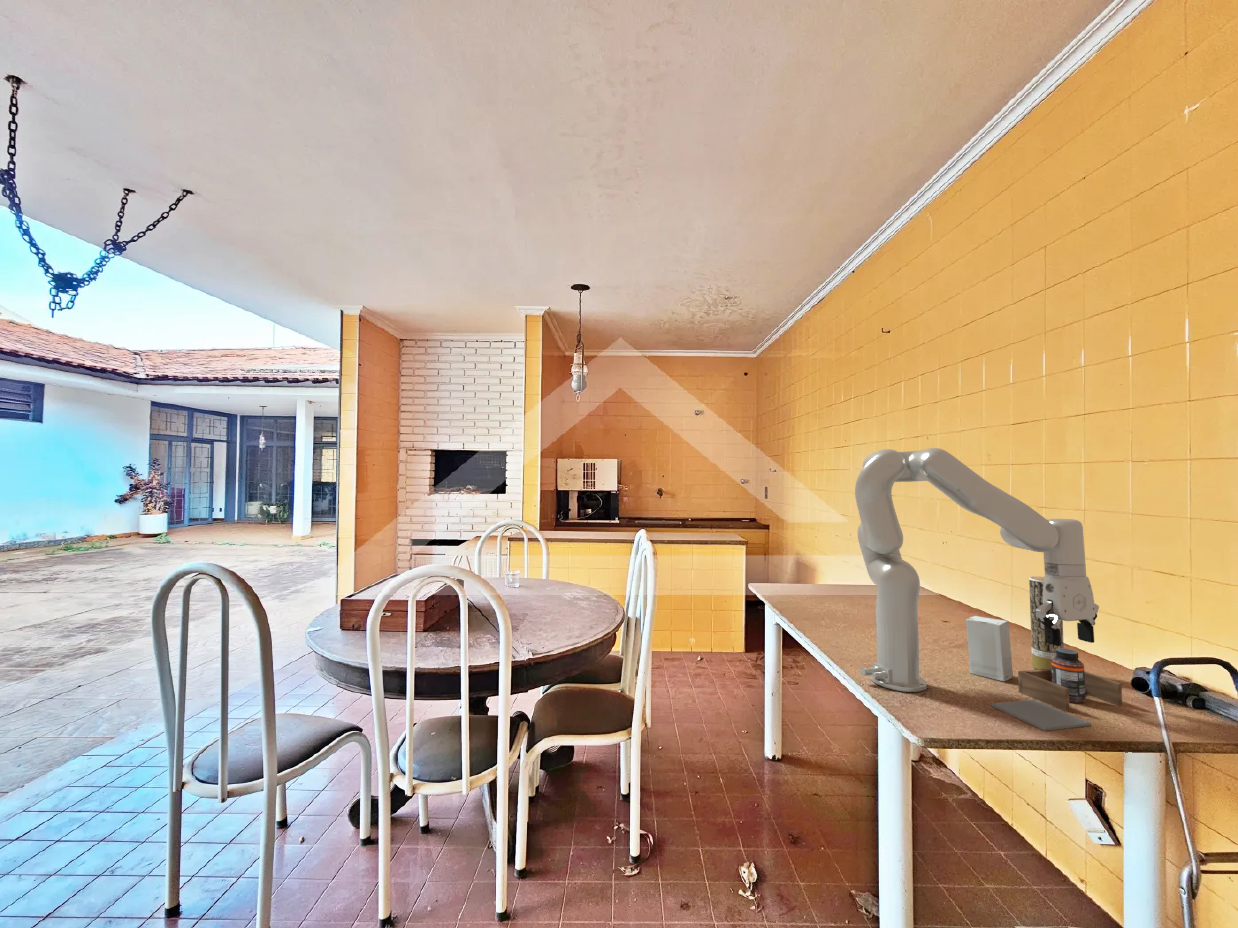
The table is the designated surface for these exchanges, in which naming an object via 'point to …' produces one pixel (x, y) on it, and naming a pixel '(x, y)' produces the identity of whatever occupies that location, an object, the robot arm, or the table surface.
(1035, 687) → the wooden open-sided frame
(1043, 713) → the grey mat
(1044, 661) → the paper tube
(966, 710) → the table surface
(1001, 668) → the skincare box
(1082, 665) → the supplement bottle
